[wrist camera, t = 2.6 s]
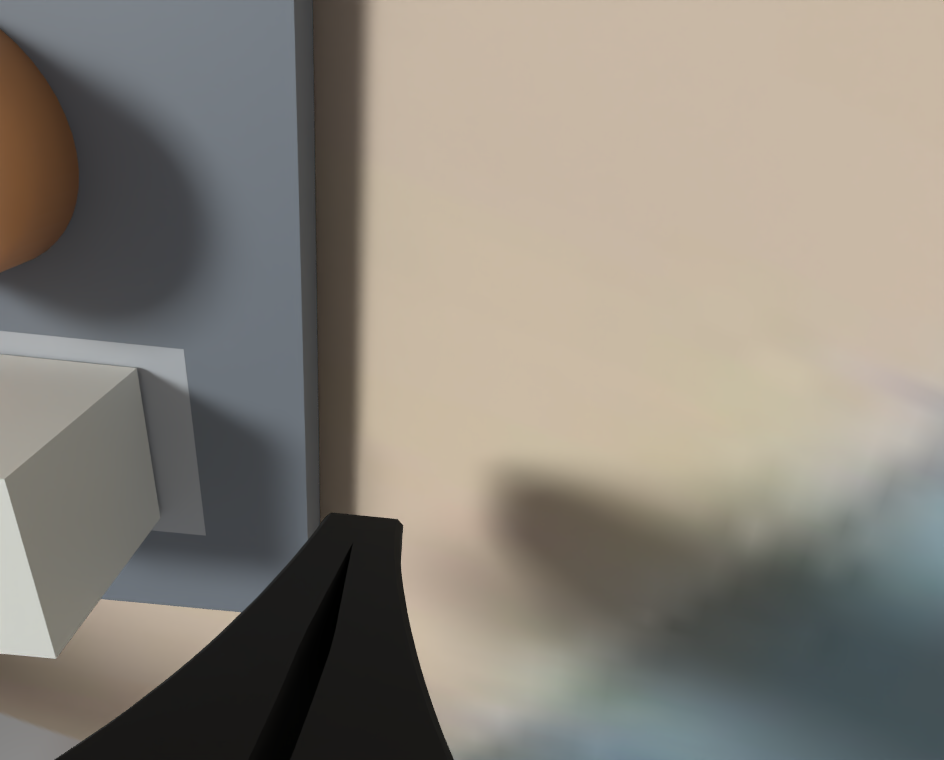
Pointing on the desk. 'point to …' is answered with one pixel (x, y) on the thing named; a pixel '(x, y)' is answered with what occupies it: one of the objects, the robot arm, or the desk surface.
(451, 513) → the desk surface
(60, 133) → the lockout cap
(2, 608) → the block
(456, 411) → the desk surface
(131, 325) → the breaker panel
